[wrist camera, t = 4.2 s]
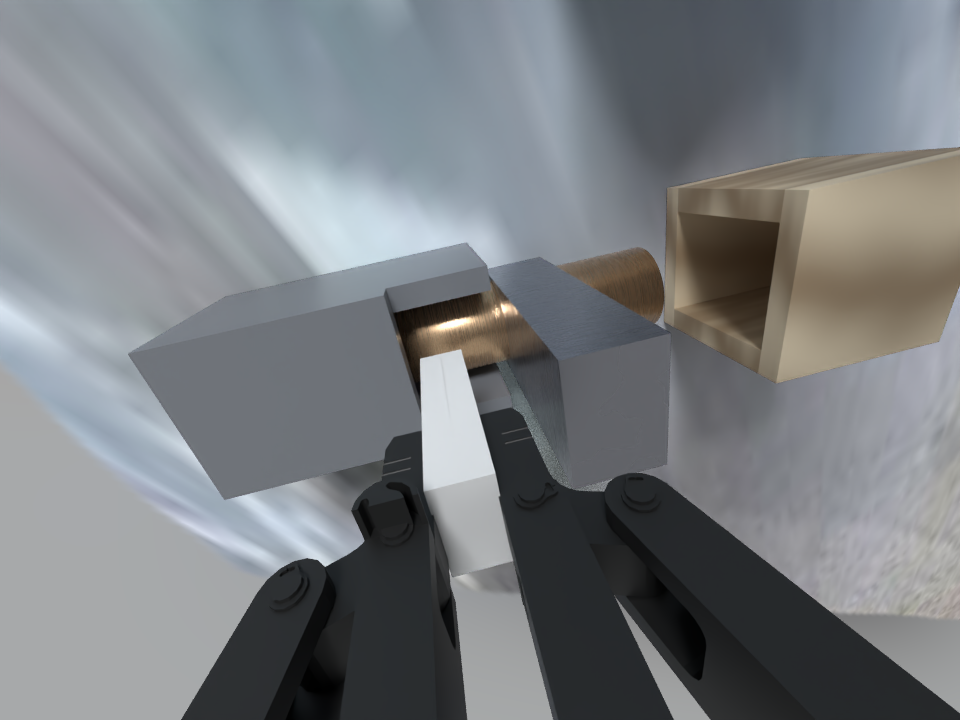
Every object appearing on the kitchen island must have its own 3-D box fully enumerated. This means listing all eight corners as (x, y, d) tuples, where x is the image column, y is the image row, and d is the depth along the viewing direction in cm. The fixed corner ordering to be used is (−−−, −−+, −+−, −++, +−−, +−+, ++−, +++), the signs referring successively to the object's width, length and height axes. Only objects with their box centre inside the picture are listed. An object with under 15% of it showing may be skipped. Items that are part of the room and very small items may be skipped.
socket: (667, 188, 21) (809, 189, 14) (800, 158, 22) (1011, 143, 14) (664, 321, 25) (775, 383, 17) (779, 293, 25) (938, 341, 17)
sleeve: (224, 296, 20) (127, 353, 13) (466, 242, 21) (491, 270, 14) (280, 407, 23) (224, 499, 16) (489, 356, 24) (519, 424, 17)
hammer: (283, 315, 19) (132, 465, 9) (621, 238, 20) (832, 293, 10) (315, 389, 21) (222, 582, 11) (623, 315, 22) (802, 428, 12)
